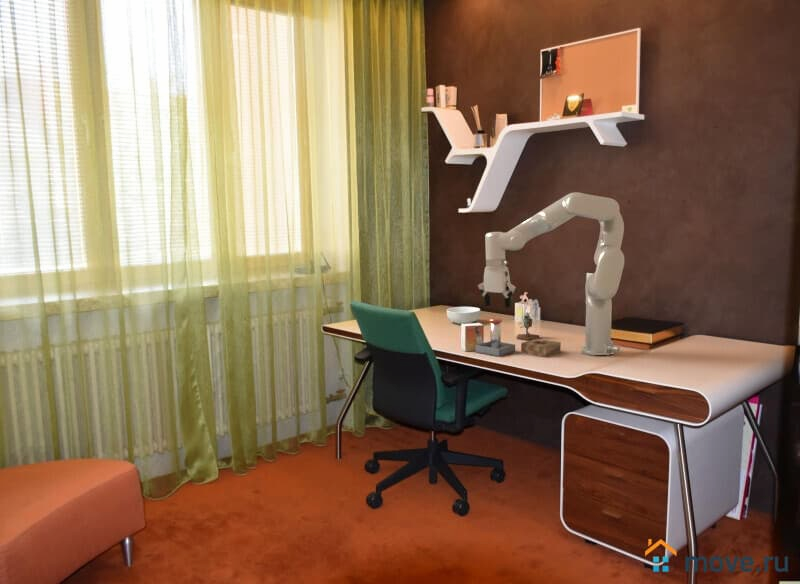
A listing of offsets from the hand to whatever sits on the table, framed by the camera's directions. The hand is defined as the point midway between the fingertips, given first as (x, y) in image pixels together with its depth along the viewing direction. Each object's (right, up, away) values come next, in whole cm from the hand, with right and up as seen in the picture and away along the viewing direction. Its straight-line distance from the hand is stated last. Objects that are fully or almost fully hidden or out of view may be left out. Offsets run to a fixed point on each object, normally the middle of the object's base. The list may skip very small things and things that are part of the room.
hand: (497, 306), depth 257 cm
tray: (0, -18, +3) cm, 18 cm away
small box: (-9, -18, +8) cm, 22 cm away
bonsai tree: (+18, -15, +28) cm, 36 cm away
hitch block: (+17, -18, +1) cm, 25 cm away
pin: (0, -18, +3) cm, 18 cm away
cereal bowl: (-7, -10, +66) cm, 67 cm away
